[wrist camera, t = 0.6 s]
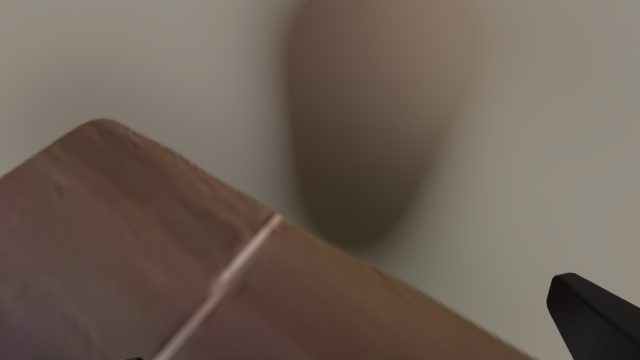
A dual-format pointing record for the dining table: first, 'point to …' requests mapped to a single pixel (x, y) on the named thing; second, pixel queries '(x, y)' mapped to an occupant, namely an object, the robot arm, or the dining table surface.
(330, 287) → the dining table surface
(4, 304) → the dining table surface
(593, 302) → the robot arm
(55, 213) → the dining table surface
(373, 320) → the dining table surface
